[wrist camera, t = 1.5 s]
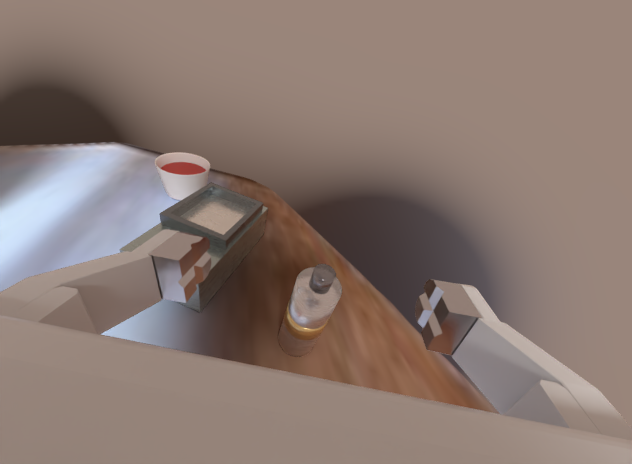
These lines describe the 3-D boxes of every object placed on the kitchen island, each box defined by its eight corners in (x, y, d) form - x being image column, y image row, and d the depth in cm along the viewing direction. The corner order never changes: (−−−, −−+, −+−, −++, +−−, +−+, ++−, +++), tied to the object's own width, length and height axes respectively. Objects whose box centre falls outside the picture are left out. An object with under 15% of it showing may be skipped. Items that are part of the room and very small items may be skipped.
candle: (179, 176, 52) (177, 148, 48) (218, 190, 52) (219, 162, 48) (148, 194, 44) (141, 163, 41) (193, 210, 44) (191, 180, 41)
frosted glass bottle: (271, 347, 29) (292, 280, 21) (286, 314, 33) (308, 247, 25) (308, 363, 29) (344, 301, 21) (319, 328, 33) (352, 265, 25)
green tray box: (126, 280, 31) (111, 235, 26) (212, 213, 45) (212, 176, 40) (200, 312, 30) (197, 272, 25) (263, 234, 44) (269, 199, 40)
